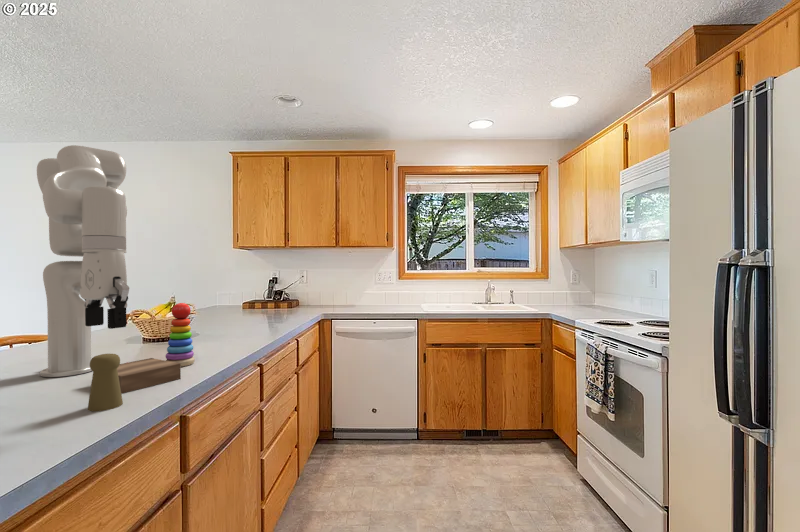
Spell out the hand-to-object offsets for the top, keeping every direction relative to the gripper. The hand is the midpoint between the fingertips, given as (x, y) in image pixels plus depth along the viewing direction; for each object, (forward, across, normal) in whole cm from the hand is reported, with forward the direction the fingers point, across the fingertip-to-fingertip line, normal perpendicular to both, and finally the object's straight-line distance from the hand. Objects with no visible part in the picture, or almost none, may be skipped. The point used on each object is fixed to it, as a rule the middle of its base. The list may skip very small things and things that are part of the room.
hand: (105, 326), depth 83 cm
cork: (+17, -1, 0) cm, 17 cm away
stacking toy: (+17, -23, +29) cm, 41 cm away
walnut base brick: (+17, -14, +13) cm, 26 cm away
